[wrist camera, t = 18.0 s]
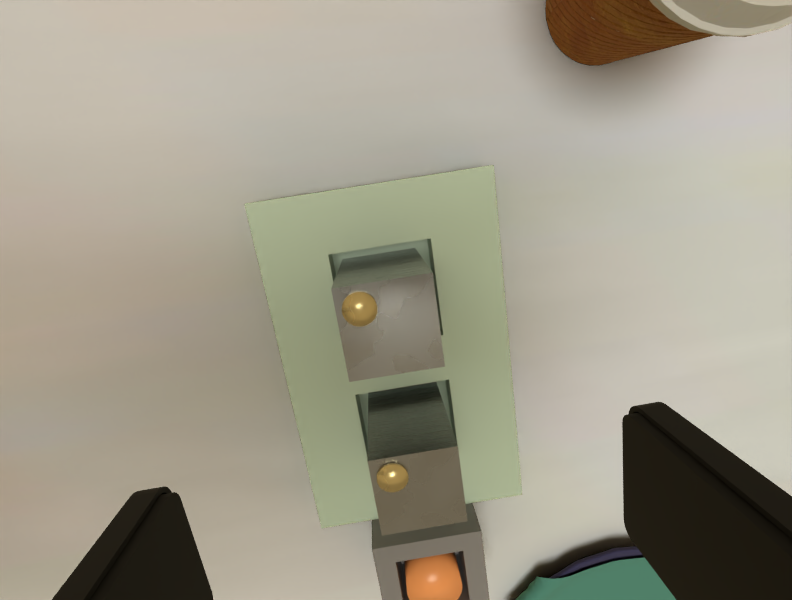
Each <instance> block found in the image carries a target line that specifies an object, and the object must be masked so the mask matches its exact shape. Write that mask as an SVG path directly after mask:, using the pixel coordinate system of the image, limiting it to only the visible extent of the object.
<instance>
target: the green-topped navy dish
mask: <svg viewBox="0 0 792 600" xmlns="http://www.w3.org/2000/svg"><path fill="white" fill-rule="evenodd" d="M515 600H676V599H675V597H674V596H673V595H672V593H671V592H670V591H669V589H668V588H667V587H666V585H665V584H664V583H663V581H662V580H661V579H660V577H659V576H658V575H657V573H656V572H655V571H654V569H653V568H652V567H651V565H650V564H649V563H648V561H647V560H646V559H645V557H644V556H643V555H642V553H641V552H640V551H639V549H638V548H637V547H636V546H634V547H620V548H613V549H610V550H607V551H604V552H601V553H598V554H595V555H592V556H589V557H586V558H583V559H580V560H577V561H575V562H573V563H572V564H570V565H569V566H567V567H566V568H564V569H562V570H561V571H559V572H558V573H556V574H554V575H553V576H551V577H550V578H542V577H537V576H536V578H535V580H534V581H533V582H532V583H531V584H530V585H529V586H528V588H527V589H526V590H525V591H524V592H522V593H521V594H520V596H519V597H518V598H517V599H515Z"/></svg>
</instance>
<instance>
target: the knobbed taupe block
mask: <svg viewBox="0 0 792 600" xmlns="http://www.w3.org/2000/svg"><path fill="white" fill-rule="evenodd" d="M331 291H332V296H333V301H334V306H335V311H336V317H337V322H338V327H339V332H340V337H341V342H342V347H343V352H344V357H345V363H346V368H347V373H348V378H349V382H353V381H359V380H365V379H371V378H378V377H384V376H390V375H396V374H402V373H408V372H414V371H421V370H427V369H433V368H439V367H445V363H444V355H443V347H442V340H441V332H440V324H439V316H438V309H437V301H436V293H435V286H434V278H433V272H432V271H431V269H430V268H429V267H428V265H427V264H426V262H425V261H424V260H423V258H422V257H421V255H420V254H419V253H418V251H417V250H416V248H410V249H403V250H397V251H391V252H385V253H378V254H372V255H366V256H359V257H353V258H347V259H342V261H341V264H340V267H339V269H338V272H337V275H336V277H335V280H334V283H333V285H332V288H331Z"/></svg>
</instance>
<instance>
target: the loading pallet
mask: <svg viewBox="0 0 792 600" xmlns="http://www.w3.org/2000/svg"><path fill="white" fill-rule="evenodd" d="M244 205H245V209H246V213H247V217H248V221H249V226H250V230H251V234H252V238H253V242H254V247H255V251H256V255H257V259H258V263H259V268H260V272H261V276H262V280H263V284H264V289H265V293H266V297H267V301H268V305H269V310H270V314H271V318H272V322H273V326H274V331H275V335H276V339H277V343H278V347H279V352H280V356H281V360H282V364H283V368H284V373H285V377H286V381H287V385H288V389H289V394H290V398H291V402H292V406H293V410H294V415H295V419H296V423H297V427H298V431H299V436H300V440H301V444H302V448H303V452H304V457H305V461H306V465H307V469H308V473H309V478H310V482H311V486H312V490H313V494H314V499H315V503H316V507H317V511H318V515H319V520H320V524H321V528H327V527H333V526H339V525H345V524H351V523H356V522H362V521H368V520H372V551H373V556H374V561H375V566H376V571H377V576H378V581H379V586H380V590H381V595H382V600H409V598H408V595H407V587H406V576H405V564H404V561H406V560H412V559H418V558H424V557H430V556H436V555H441V554H447V553H453V552H455V555H456V560H457V564H458V568H459V573H460V577H461V581H462V592H461V595H460V597H459V598H458V599H457V600H489V592H488V583H487V575H486V567H485V558H484V550H483V541H482V533H481V529H480V525H479V522H478V519H477V516H476V513H475V510H474V507H473V504H472V503H475V502H481V501H487V500H493V499H499V498H504V497H510V496H516V495H522V487H521V476H520V464H519V453H518V441H517V430H516V418H515V407H514V395H513V383H512V372H511V360H510V349H509V337H508V326H507V314H506V303H505V291H504V280H503V268H502V257H501V245H500V234H499V222H498V210H497V199H496V187H495V176H494V165H490V166H484V167H477V168H471V169H464V170H458V171H452V172H445V173H439V174H432V175H426V176H420V177H413V178H407V179H400V180H394V181H388V182H381V183H375V184H368V185H362V186H356V187H349V188H343V189H336V190H330V191H324V192H317V193H311V194H304V195H298V196H292V197H285V198H279V199H272V200H266V201H260V202H253V203H247V204H244ZM410 248H416V250H417V251H418V253H419V254H420V255H421V257H422V258H423V260H424V261H425V262H426V264H427V265H428V267H429V268H430V269H431V271H432V272H433V278H434V286H435V293H436V301H437V309H438V316H439V324H440V332H441V340H442V347H443V355H444V363H445V367H439V368H433V369H427V370H421V371H414V372H408V373H402V374H396V375H390V376H384V377H378V378H371V379H365V380H359V381H353V382H349V378H348V373H347V368H346V363H345V357H344V352H343V347H342V342H341V337H340V332H339V327H338V322H337V317H336V311H335V306H334V301H333V296H332V291H331V288H332V285H333V283H334V280H335V277H336V275H337V272H338V269H339V267H340V264H341V261H342V259H347V258H353V257H359V256H366V255H372V254H378V253H385V252H391V251H397V250H403V249H410ZM430 382H437V385H438V388H439V391H440V394H441V397H442V400H443V403H444V406H445V409H446V412H447V415H448V418H449V421H450V424H451V427H452V430H453V433H454V436H455V439H456V442H457V445H458V450H459V458H460V466H461V474H462V481H463V489H464V497H465V505H466V513H467V520H468V521H466V522H460V523H454V524H448V525H442V526H436V527H430V528H425V529H419V530H413V531H407V532H401V533H395V534H389V535H383V536H382V534H381V529H380V523H379V518H378V513H377V508H376V503H375V498H374V492H373V487H372V482H371V477H370V472H369V467H368V462H367V455H368V393H369V392H376V391H382V390H388V389H394V388H400V387H406V386H412V385H418V384H424V383H430Z"/></svg>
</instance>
